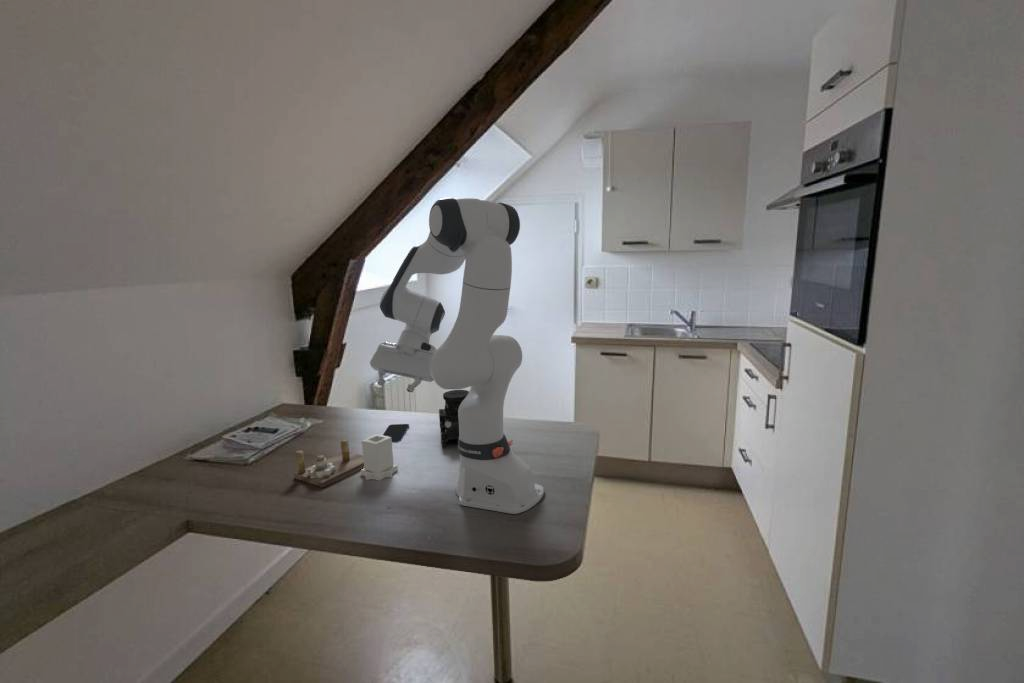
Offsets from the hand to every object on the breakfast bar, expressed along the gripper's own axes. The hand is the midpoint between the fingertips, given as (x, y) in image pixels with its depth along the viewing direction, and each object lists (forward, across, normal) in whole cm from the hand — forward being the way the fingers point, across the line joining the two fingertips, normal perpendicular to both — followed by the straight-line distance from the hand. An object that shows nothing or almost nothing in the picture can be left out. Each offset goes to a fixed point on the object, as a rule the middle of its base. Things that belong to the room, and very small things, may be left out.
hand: (394, 388), depth 144 cm
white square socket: (+23, +3, +5) cm, 24 cm away
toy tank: (+4, +15, +26) cm, 31 cm away
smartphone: (+7, -8, +29) cm, 31 cm away
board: (+26, -10, +6) cm, 28 cm away
